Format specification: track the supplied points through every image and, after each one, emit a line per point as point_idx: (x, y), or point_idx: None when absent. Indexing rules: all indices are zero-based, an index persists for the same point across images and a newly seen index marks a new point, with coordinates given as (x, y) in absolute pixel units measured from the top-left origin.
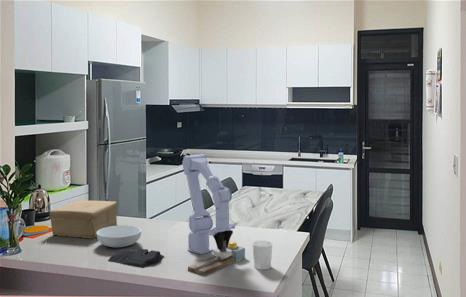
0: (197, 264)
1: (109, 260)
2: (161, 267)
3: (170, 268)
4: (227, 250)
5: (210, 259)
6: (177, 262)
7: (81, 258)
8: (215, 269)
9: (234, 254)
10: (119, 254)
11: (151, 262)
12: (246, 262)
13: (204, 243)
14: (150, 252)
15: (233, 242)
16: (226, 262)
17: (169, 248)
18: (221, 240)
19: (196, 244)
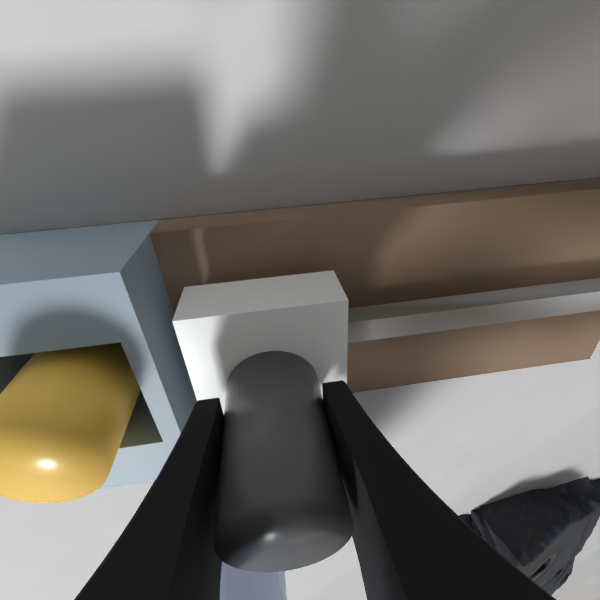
0: (523, 348)
1: (572, 565)
2: (571, 446)
3: (570, 415)
4: (220, 359)
5: (370, 367)
6: (469, 457)
7: (575, 595)
8: (496, 191)
9: (145, 277)
10: (554, 587)
11: (563, 500)
12: (56, 98)
13: (240, 569)
14: (537, 568)
15: (5, 476)
16: (334, 213)
17: (327, 580)
18: (453, 525)
19: (284, 573)
